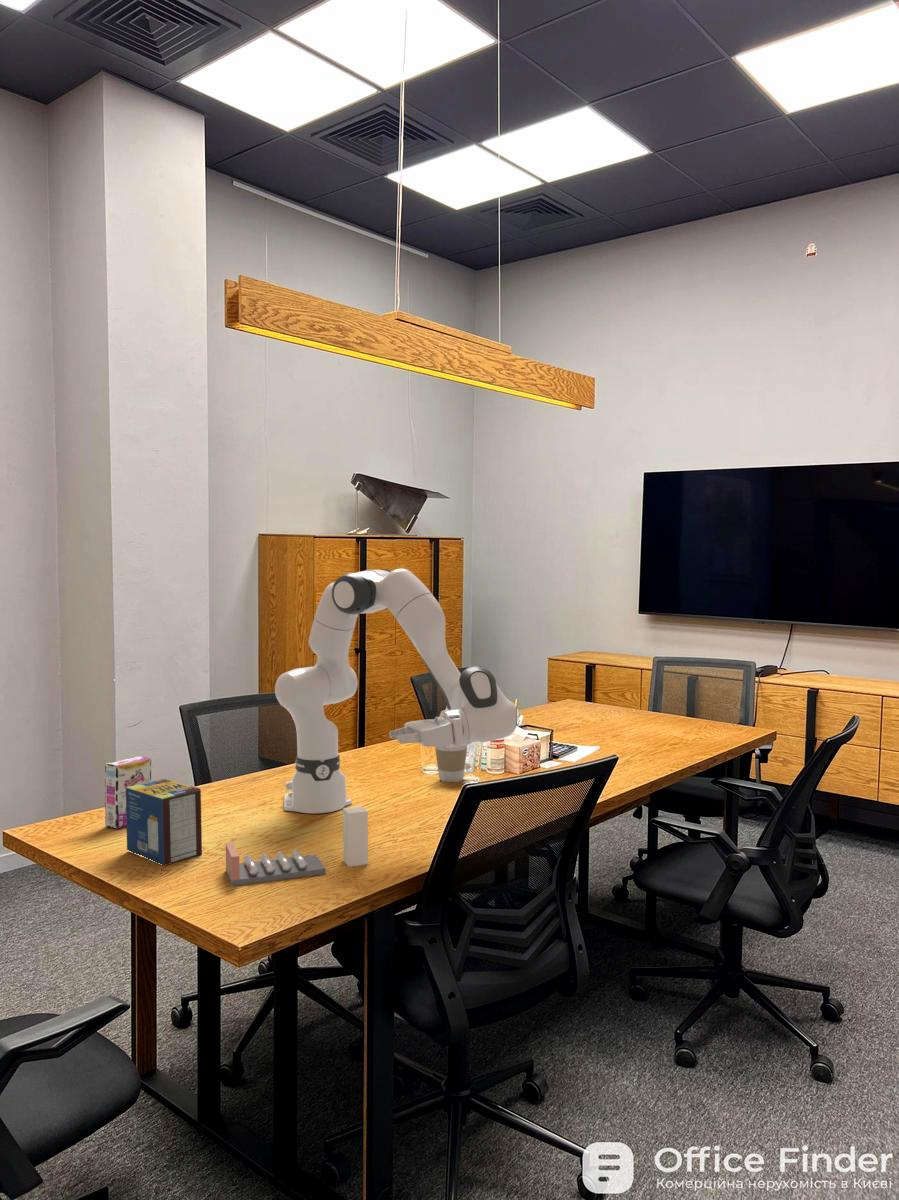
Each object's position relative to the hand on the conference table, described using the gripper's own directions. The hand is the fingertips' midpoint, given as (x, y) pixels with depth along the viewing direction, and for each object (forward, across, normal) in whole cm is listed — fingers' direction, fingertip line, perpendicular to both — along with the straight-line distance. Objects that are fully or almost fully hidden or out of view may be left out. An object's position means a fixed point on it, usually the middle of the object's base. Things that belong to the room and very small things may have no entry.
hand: (394, 737), depth 207 cm
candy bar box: (+63, -44, +18) cm, 79 cm away
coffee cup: (-29, -65, +25) cm, 76 cm away
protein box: (+54, -17, +21) cm, 60 cm away
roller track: (+30, +3, +25) cm, 39 cm away
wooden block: (+12, +1, +26) cm, 29 cm away
